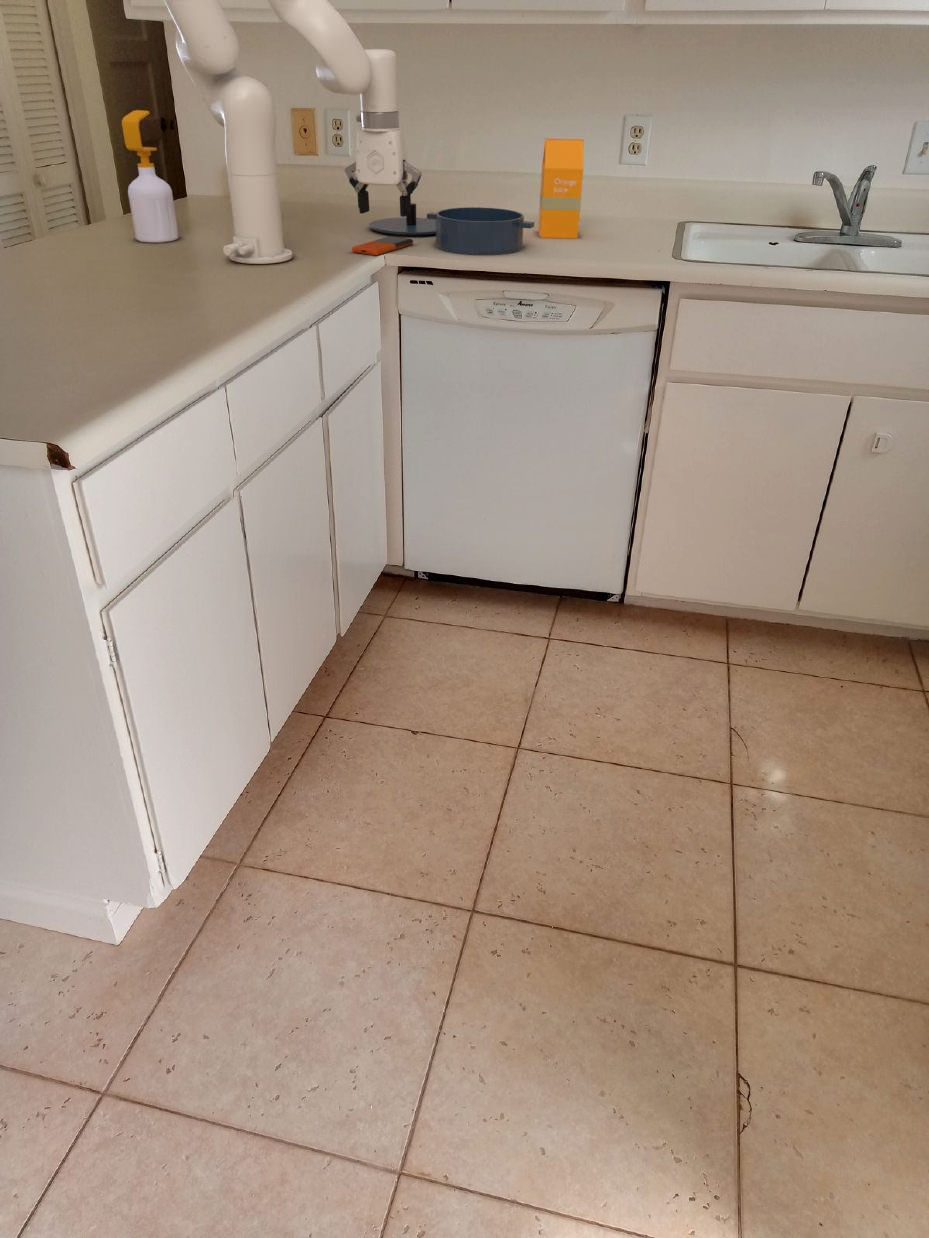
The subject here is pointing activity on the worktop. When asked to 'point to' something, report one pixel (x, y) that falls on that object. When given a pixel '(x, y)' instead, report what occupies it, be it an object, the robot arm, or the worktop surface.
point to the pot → (479, 230)
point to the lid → (406, 225)
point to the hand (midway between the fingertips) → (384, 214)
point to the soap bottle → (148, 190)
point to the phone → (382, 245)
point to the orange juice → (561, 188)
